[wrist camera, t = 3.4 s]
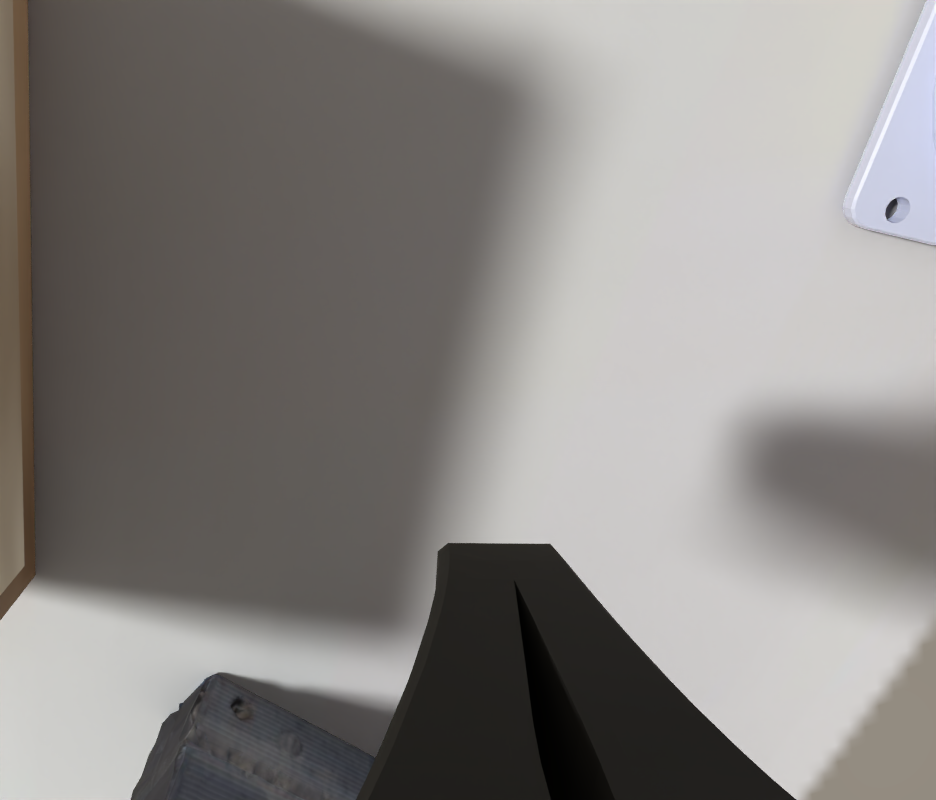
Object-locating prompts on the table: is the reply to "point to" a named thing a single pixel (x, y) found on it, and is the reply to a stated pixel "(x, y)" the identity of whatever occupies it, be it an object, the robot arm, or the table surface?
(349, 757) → the vhs cassette tape
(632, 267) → the table surface
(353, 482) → the table surface
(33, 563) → the tan wooden block
